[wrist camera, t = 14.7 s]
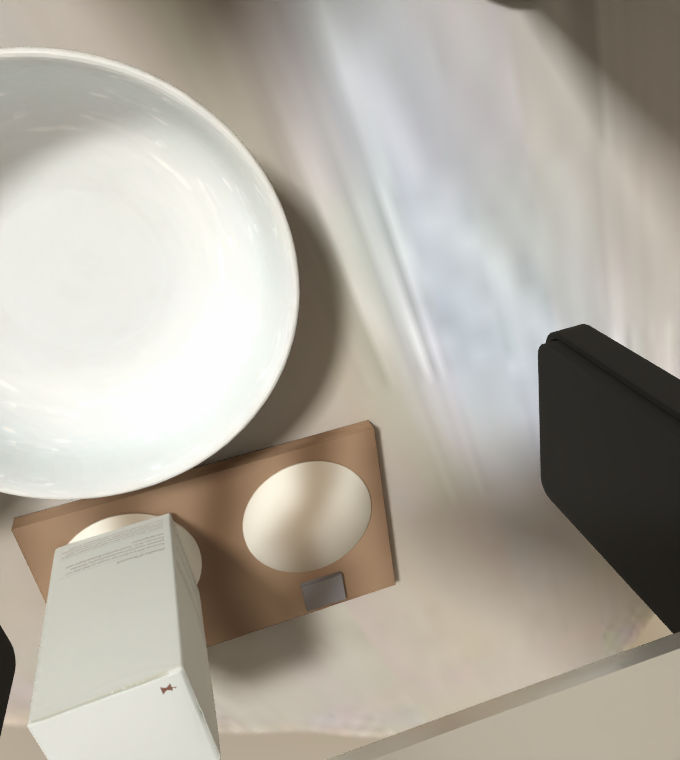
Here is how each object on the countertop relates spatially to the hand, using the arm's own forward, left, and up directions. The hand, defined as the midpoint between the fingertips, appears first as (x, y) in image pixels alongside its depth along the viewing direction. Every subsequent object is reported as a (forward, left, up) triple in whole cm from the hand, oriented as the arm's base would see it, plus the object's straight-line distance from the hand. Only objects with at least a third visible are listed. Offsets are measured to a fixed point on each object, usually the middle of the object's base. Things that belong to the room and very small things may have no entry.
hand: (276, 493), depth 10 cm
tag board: (+2, +24, -29) cm, 37 cm away
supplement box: (+8, +22, -27) cm, 36 cm away
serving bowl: (+5, +3, -29) cm, 29 cm away
